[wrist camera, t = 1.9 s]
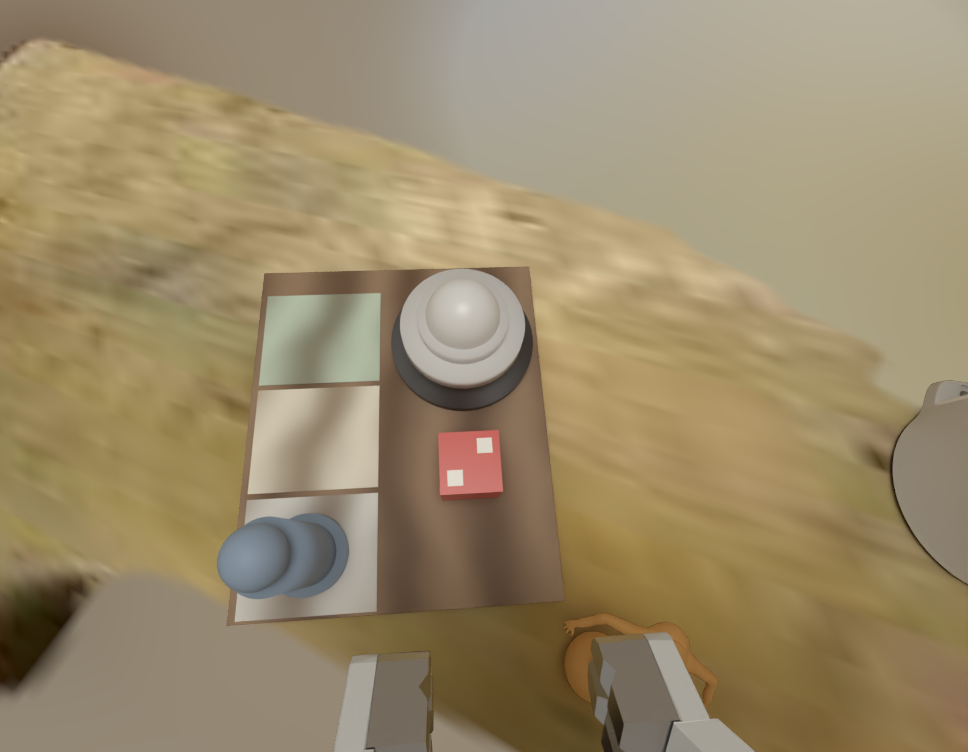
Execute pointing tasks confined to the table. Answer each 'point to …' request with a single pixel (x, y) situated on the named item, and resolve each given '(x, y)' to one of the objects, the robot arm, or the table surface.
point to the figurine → (580, 646)
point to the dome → (462, 328)
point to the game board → (392, 454)
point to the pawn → (284, 556)
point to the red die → (470, 465)
